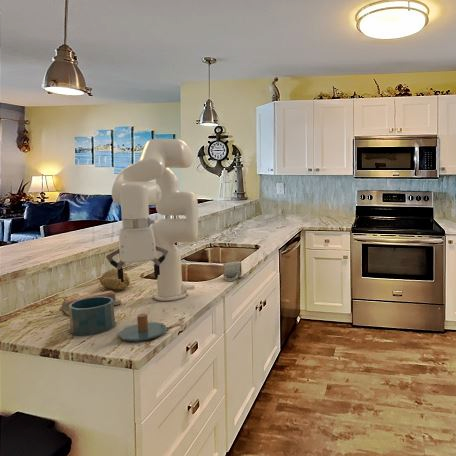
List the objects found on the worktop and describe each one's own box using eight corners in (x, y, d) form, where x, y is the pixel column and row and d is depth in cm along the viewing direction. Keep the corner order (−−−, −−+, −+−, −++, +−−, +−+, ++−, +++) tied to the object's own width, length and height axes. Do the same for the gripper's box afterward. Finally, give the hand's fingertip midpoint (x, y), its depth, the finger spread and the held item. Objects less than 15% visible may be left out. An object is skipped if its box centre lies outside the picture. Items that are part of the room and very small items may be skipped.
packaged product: (67, 303, 143) (59, 297, 150) (68, 316, 144) (60, 309, 151) (120, 292, 156) (111, 286, 163) (121, 304, 157) (112, 298, 164)
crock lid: (163, 323, 138) (162, 305, 137) (169, 337, 126) (168, 318, 125) (118, 330, 132) (117, 311, 131) (120, 346, 120) (118, 326, 119)
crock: (114, 318, 143) (112, 294, 141) (115, 330, 132) (113, 305, 130) (72, 324, 137) (70, 299, 136) (69, 338, 126) (67, 311, 125)
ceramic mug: (224, 275, 198) (224, 260, 197) (242, 275, 199) (241, 259, 198) (221, 282, 188) (221, 265, 187) (240, 281, 189) (239, 265, 187)
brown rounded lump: (103, 285, 187) (91, 288, 168) (106, 267, 188) (95, 269, 169) (134, 288, 190) (126, 291, 171) (137, 271, 191) (129, 273, 172)
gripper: (164, 221, 131) (167, 273, 134) (103, 224, 123) (107, 279, 126) (168, 223, 125) (170, 278, 127) (103, 227, 117) (108, 285, 119)
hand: (139, 279), depth 126 cm, fingers open, 9 cm apart
